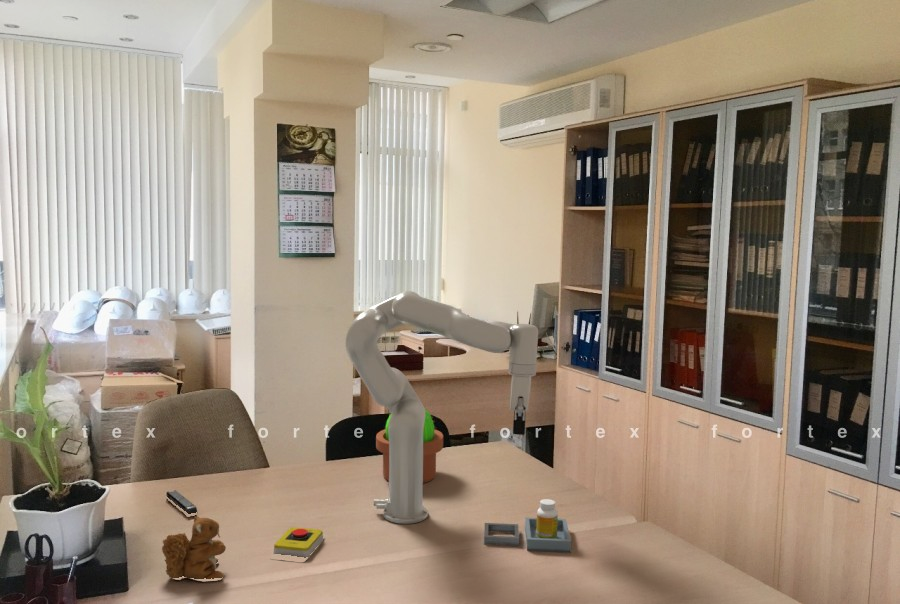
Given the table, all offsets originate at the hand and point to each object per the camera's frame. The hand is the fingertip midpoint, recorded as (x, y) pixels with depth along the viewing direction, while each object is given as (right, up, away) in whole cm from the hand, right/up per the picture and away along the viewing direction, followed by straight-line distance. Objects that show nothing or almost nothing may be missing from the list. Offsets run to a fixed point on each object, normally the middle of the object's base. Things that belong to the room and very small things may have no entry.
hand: (518, 429), depth 199 cm
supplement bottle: (+6, -27, -11) cm, 30 cm away
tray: (+6, -27, -11) cm, 30 cm away
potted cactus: (-33, -22, +36) cm, 54 cm away
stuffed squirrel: (-79, -28, -33) cm, 90 cm away
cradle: (-6, -27, -10) cm, 29 cm away
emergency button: (-58, -28, -18) cm, 66 cm away
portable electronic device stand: (-97, -24, +7) cm, 100 cm away
